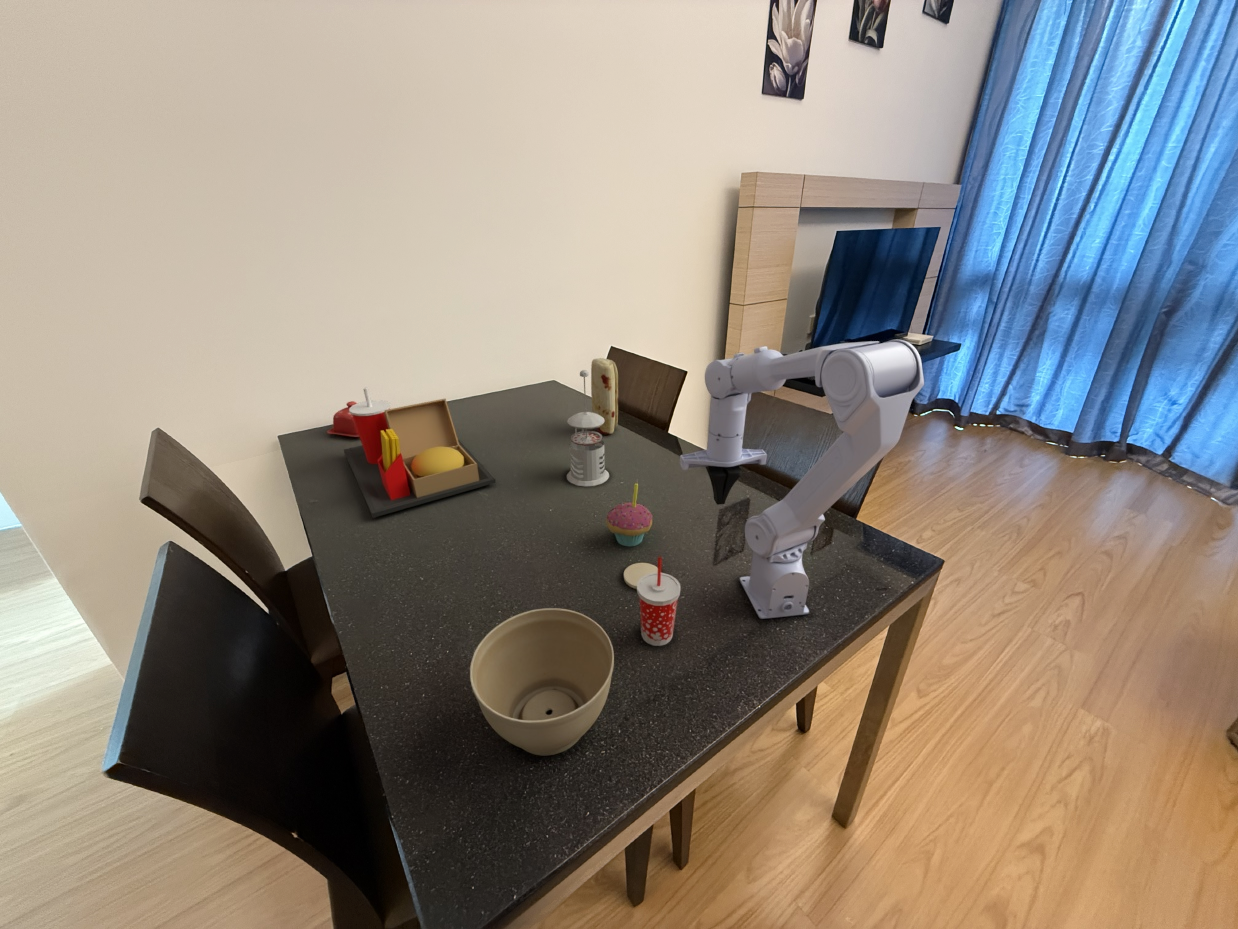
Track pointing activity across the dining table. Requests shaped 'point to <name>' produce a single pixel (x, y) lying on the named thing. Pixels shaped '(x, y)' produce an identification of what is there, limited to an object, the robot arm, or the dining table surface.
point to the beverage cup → (658, 606)
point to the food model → (605, 393)
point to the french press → (586, 448)
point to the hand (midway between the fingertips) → (719, 501)
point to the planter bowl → (543, 678)
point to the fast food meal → (410, 455)
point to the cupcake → (629, 521)
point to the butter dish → (344, 422)
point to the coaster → (637, 573)
